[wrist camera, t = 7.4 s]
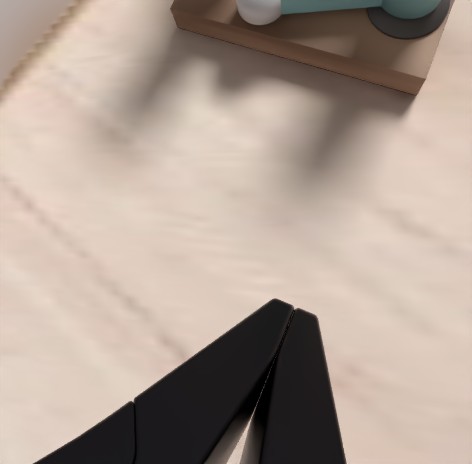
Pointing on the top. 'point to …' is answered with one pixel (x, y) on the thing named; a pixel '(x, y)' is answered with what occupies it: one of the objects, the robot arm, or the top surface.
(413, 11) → the hinged leg
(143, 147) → the top surface
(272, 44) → the brown peg stand
